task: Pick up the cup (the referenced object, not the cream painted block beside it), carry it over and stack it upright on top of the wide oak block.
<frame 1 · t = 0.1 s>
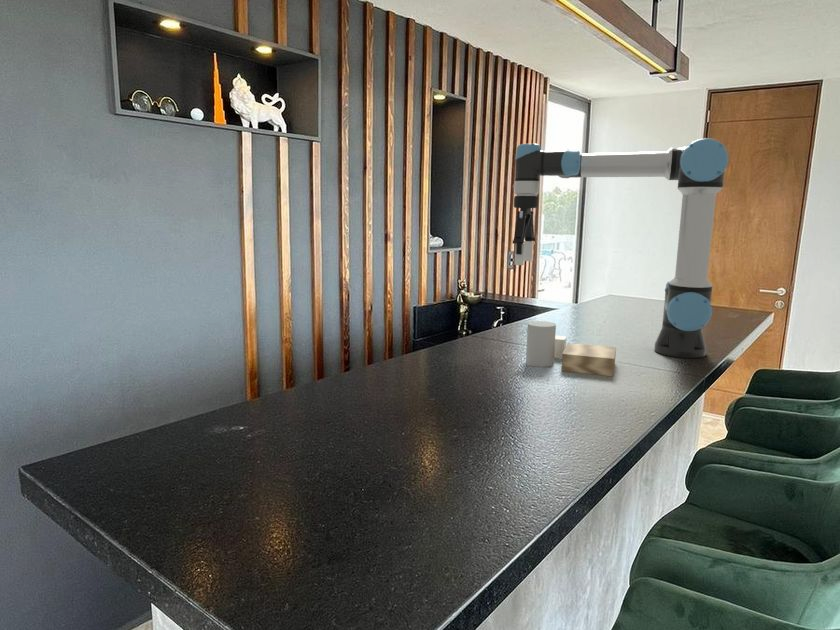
hand: (523, 263, 186), 28 cm above the countertop, fingers open, 13 cm apart
cream block: (556, 356, 181), on the countertop
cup: (539, 363, 173), on the countertop
oak block: (588, 367, 169), on the countertop
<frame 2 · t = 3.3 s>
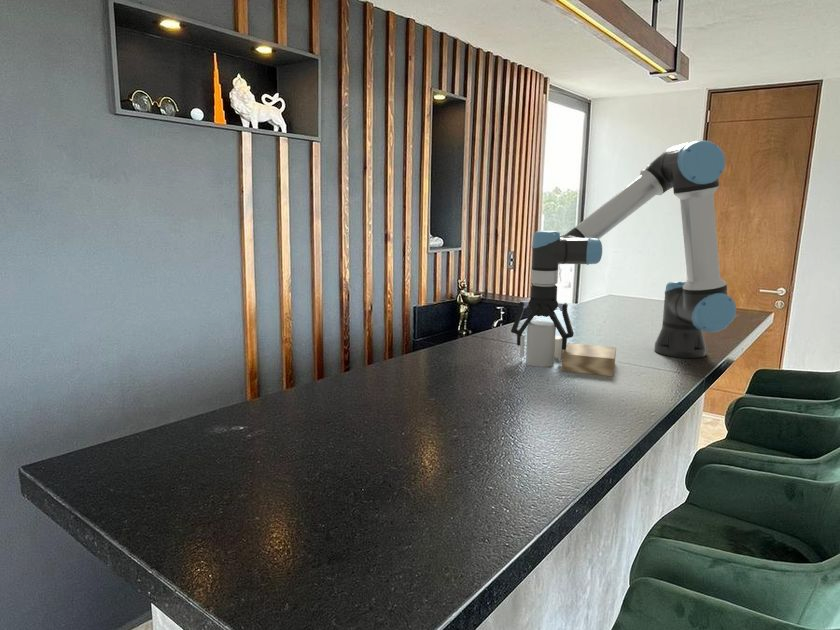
hand: (540, 358, 173), 2 cm above the countertop, fingers open, 11 cm apart
nothing on the countertop moved.
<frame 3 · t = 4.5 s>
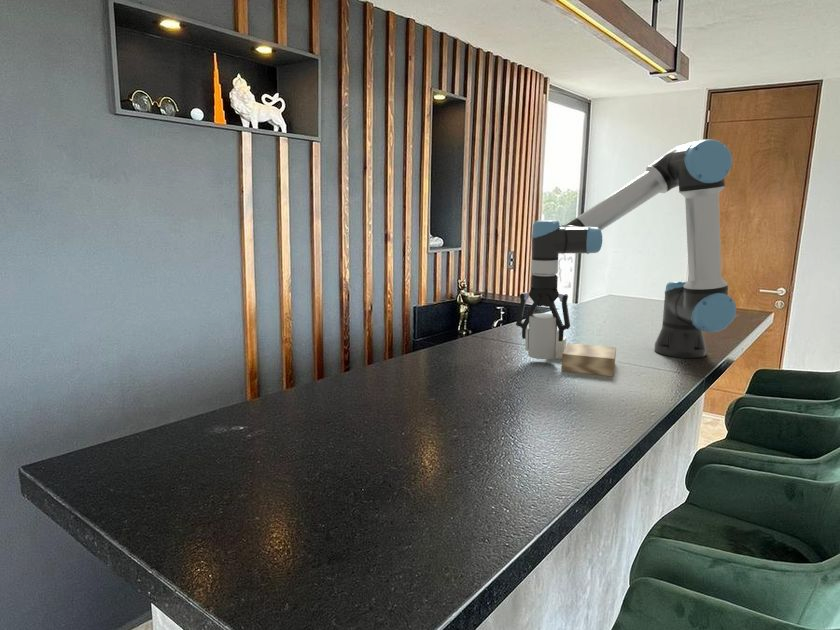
hand: (542, 350, 172), 4 cm above the countertop, fingers closed on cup, 8 cm apart
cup: (541, 356, 173), point 2 cm above the countertop, touching gripper
everything else where it was.
when the fingers open (7 cm above the countertop, at t = 9.7 s): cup stays where it is, resting on oak block.
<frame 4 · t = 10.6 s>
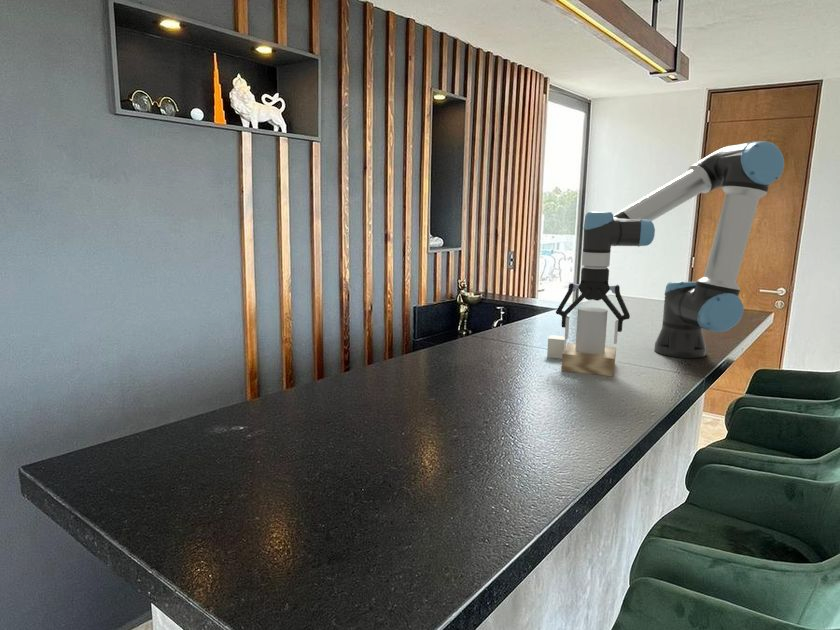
hand: (590, 340, 168), 8 cm above the countertop, fingers open, 13 cm apart
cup: (589, 351, 168), point 5 cm above the countertop, touching oak block
everything else where it was.
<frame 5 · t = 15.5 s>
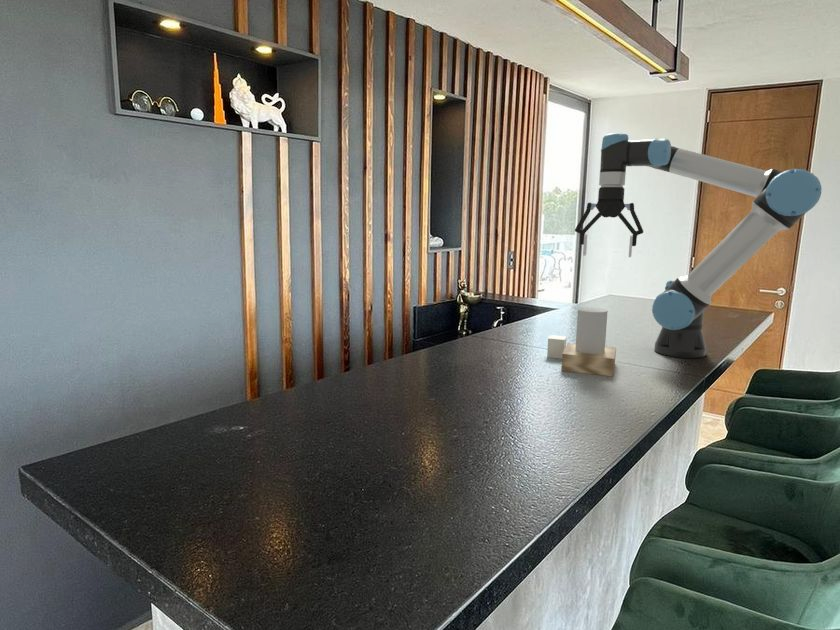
hand: (606, 256, 182), 31 cm above the countertop, fingers open, 13 cm apart
nothing on the countertop moved.
at the end: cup inside the target area on the oak block (0.1 cm from its centre), point 4.8 cm above the oak block's base; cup tilted 0°; the gripper is holding nothing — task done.
